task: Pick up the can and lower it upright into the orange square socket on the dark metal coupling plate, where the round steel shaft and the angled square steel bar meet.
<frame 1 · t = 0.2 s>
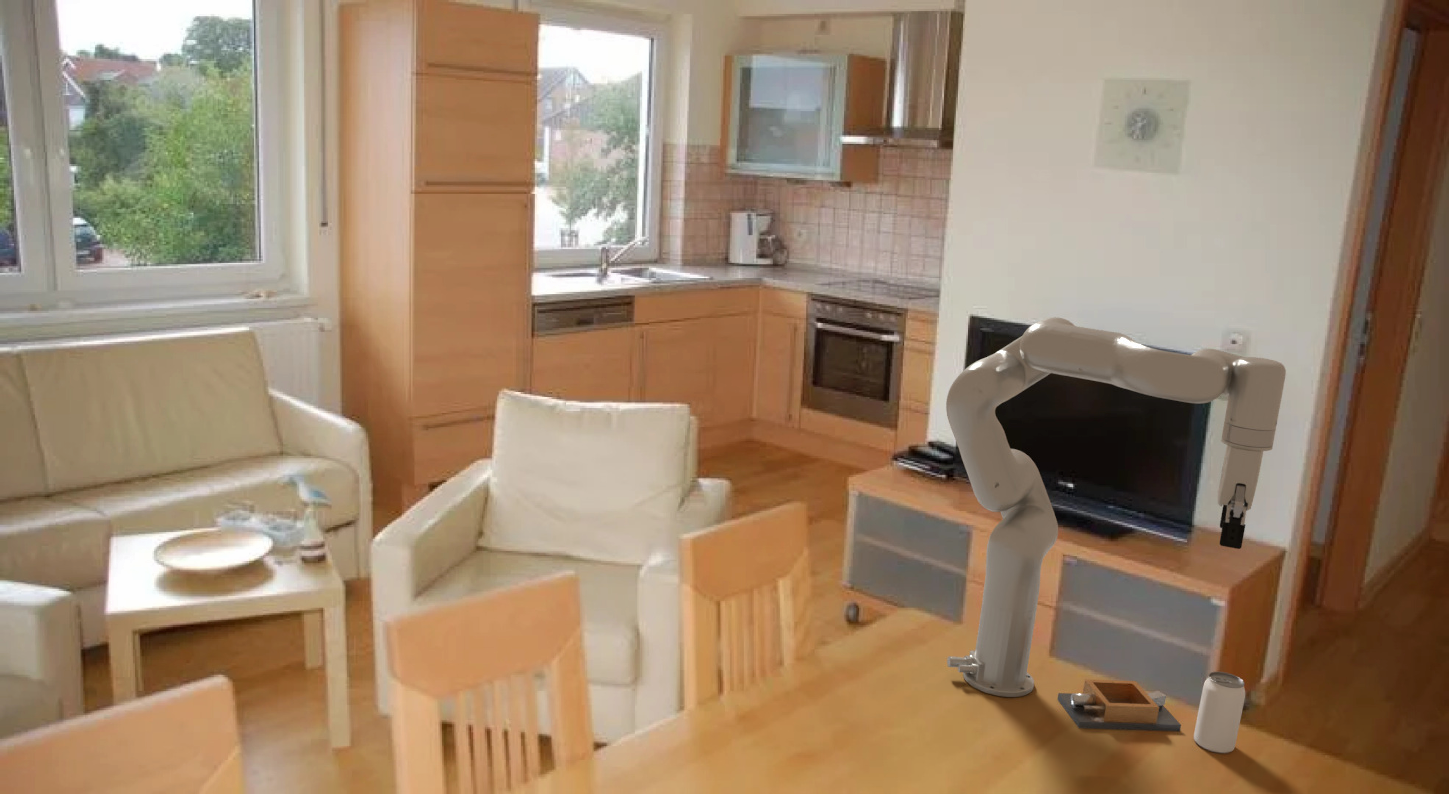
hand: (1229, 537, 189), 36 cm above the table, tool pointing down, fingers open, 9 cm apart
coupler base: (1117, 715, 204), on the table
can: (1213, 745, 197), on the table
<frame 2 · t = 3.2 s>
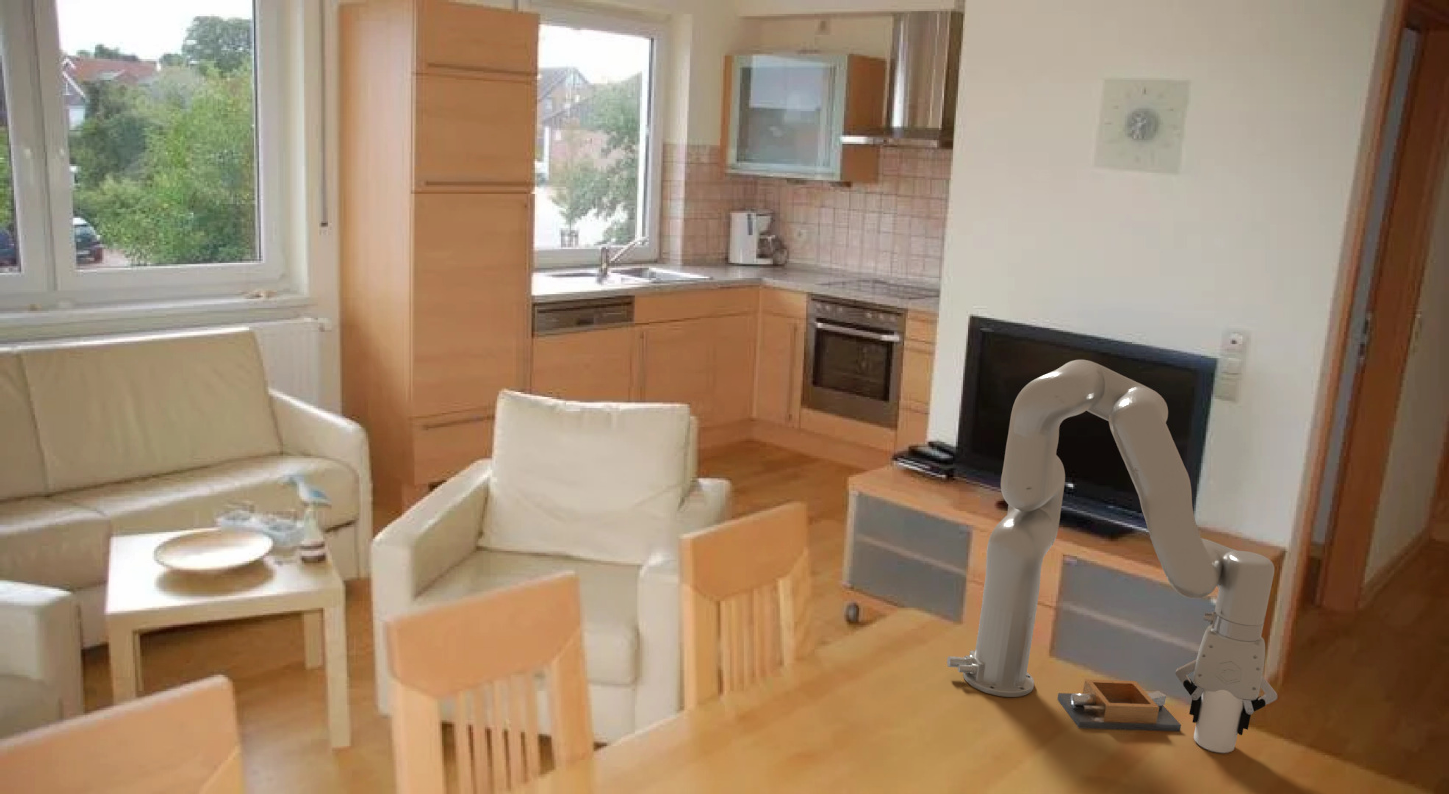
hand: (1217, 724, 196), 4 cm above the table, tool pointing down, fingers closed on can, 6 cm apart
can: (1213, 745, 197), on the table, touching gripper
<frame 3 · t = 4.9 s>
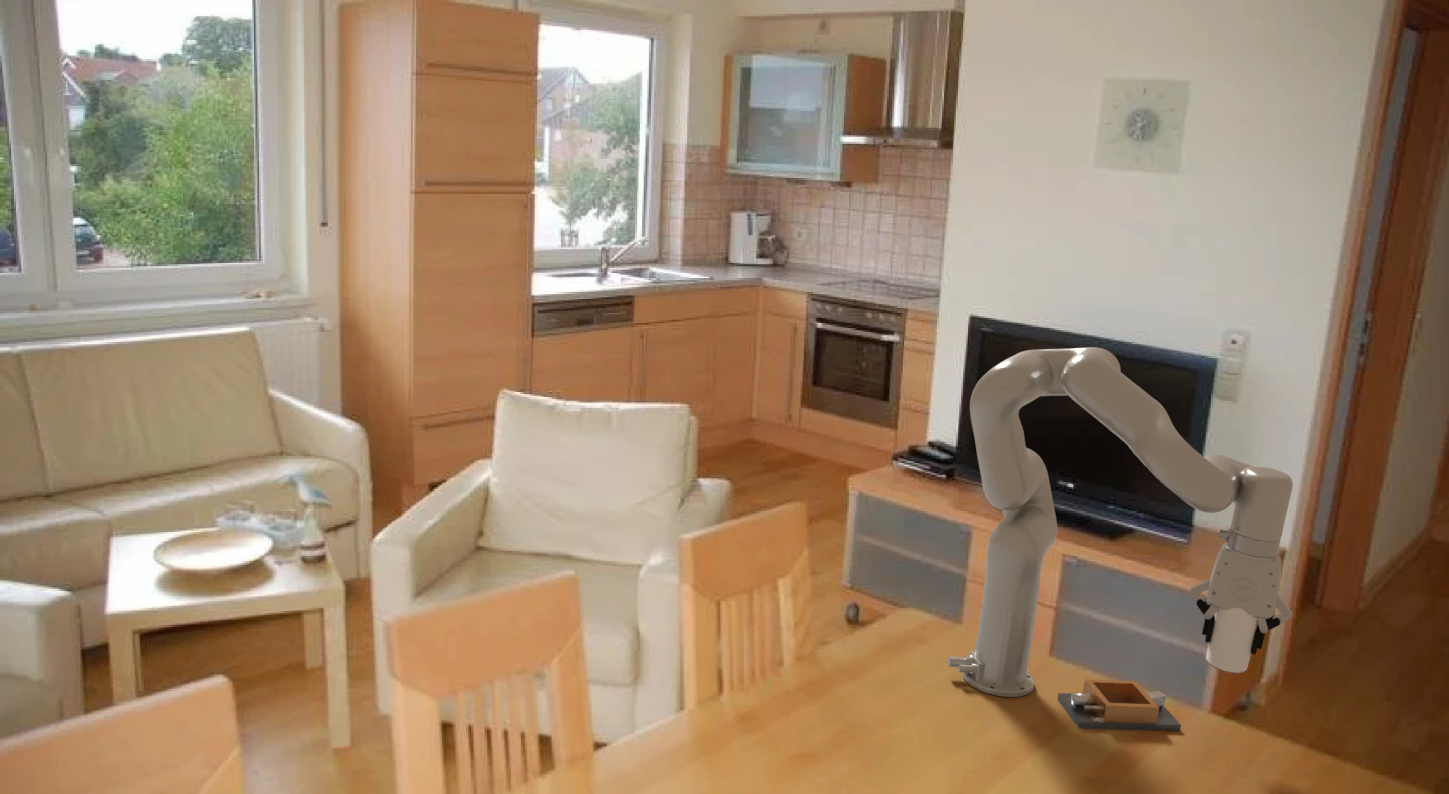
hand: (1230, 644, 192), 18 cm above the table, tool pointing down, fingers closed on can, 6 cm apart
can: (1225, 666, 193), point 14 cm above the table, touching gripper
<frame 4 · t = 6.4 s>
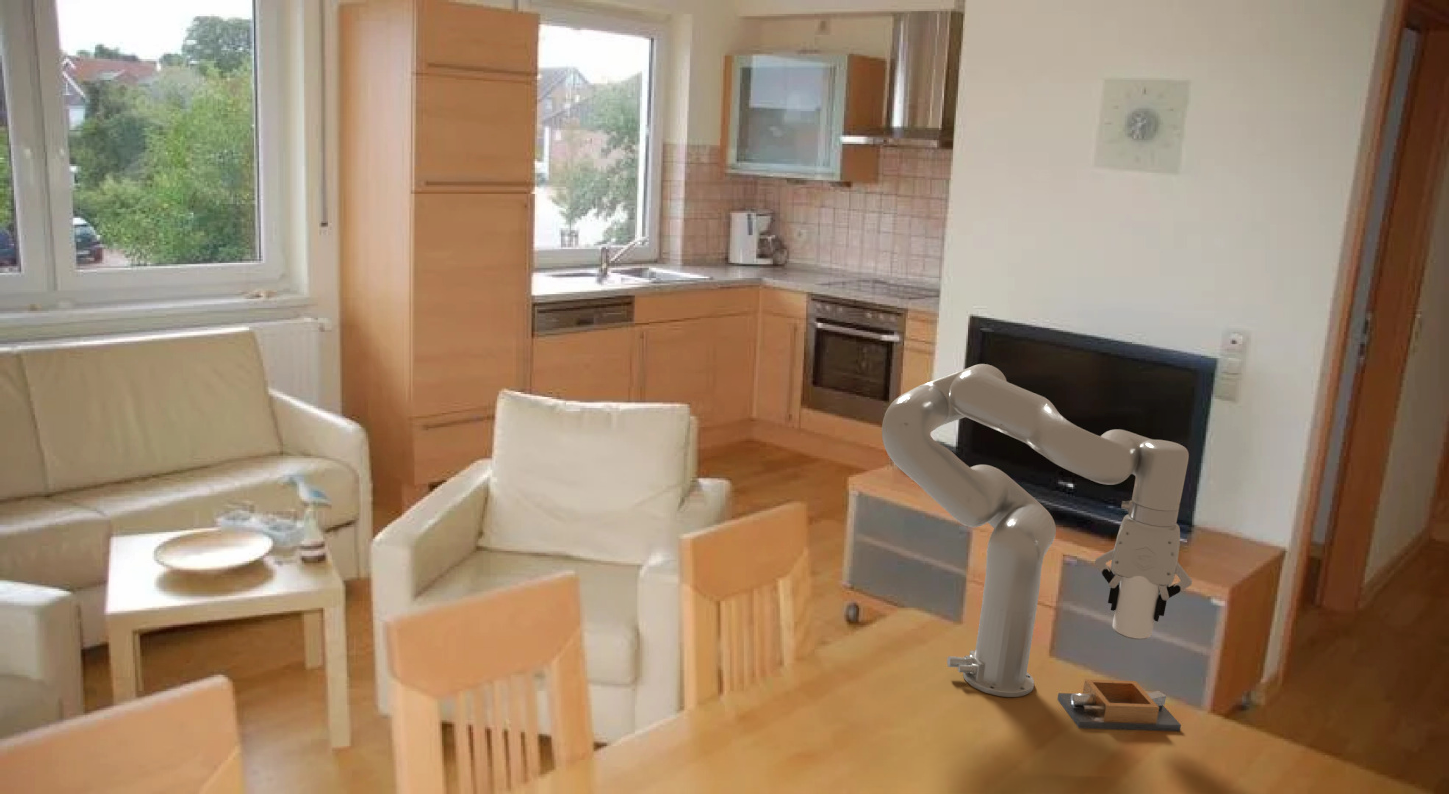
hand: (1135, 612, 199), 19 cm above the table, tool pointing down, fingers closed on can, 6 cm apart
can: (1131, 633, 200), point 15 cm above the table, touching gripper
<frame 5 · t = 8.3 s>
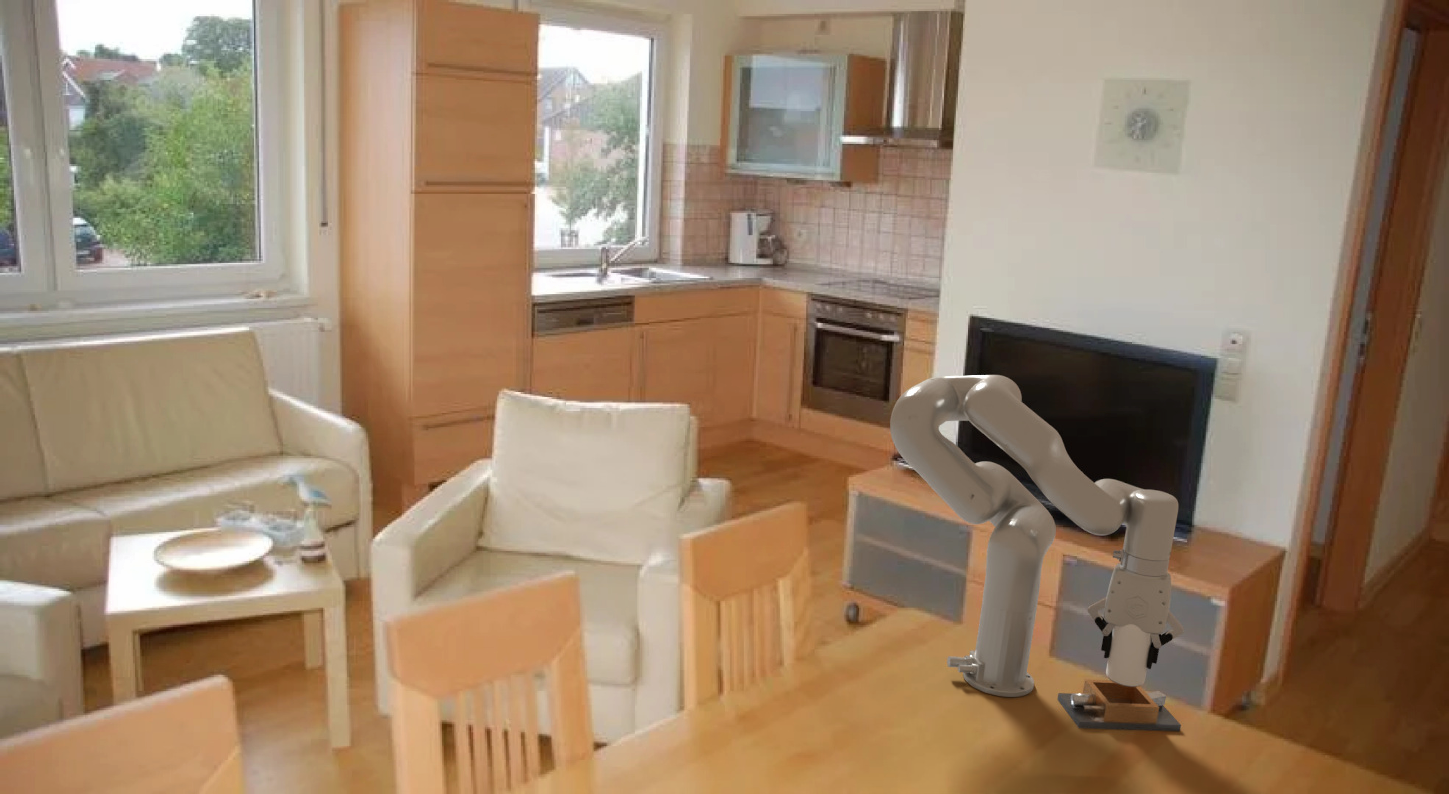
hand: (1128, 659, 201), 11 cm above the table, tool pointing down, fingers closed on can, 6 cm apart
can: (1124, 680, 202), point 7 cm above the table, touching gripper
when the fingers open (6 cm above the table, at t = 10.0 s): can stays where it is, resting on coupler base.
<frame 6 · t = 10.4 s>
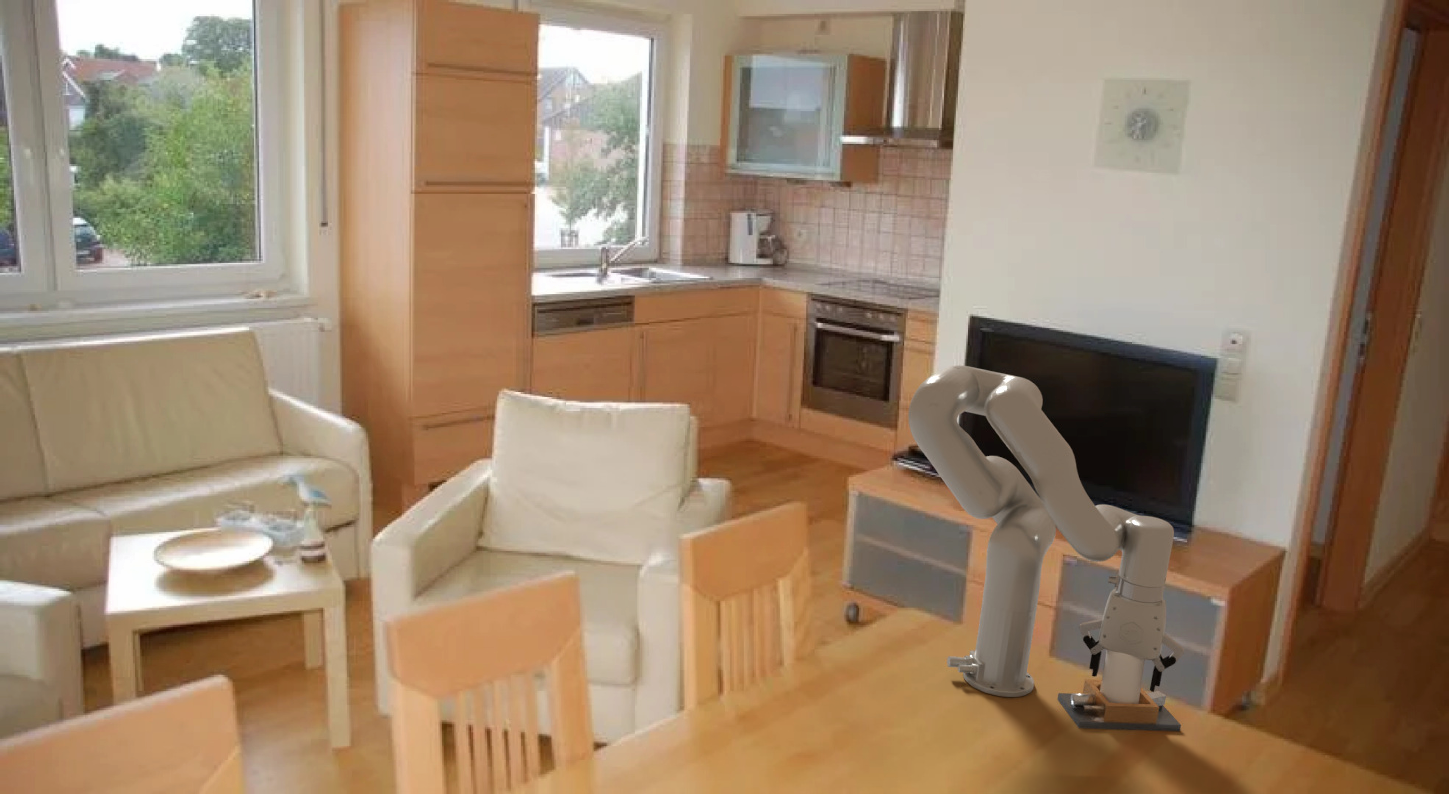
hand: (1123, 681, 202), 6 cm above the table, tool pointing down, fingers open, 9 cm apart
can: (1117, 709, 204), point 1 cm above the table, touching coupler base
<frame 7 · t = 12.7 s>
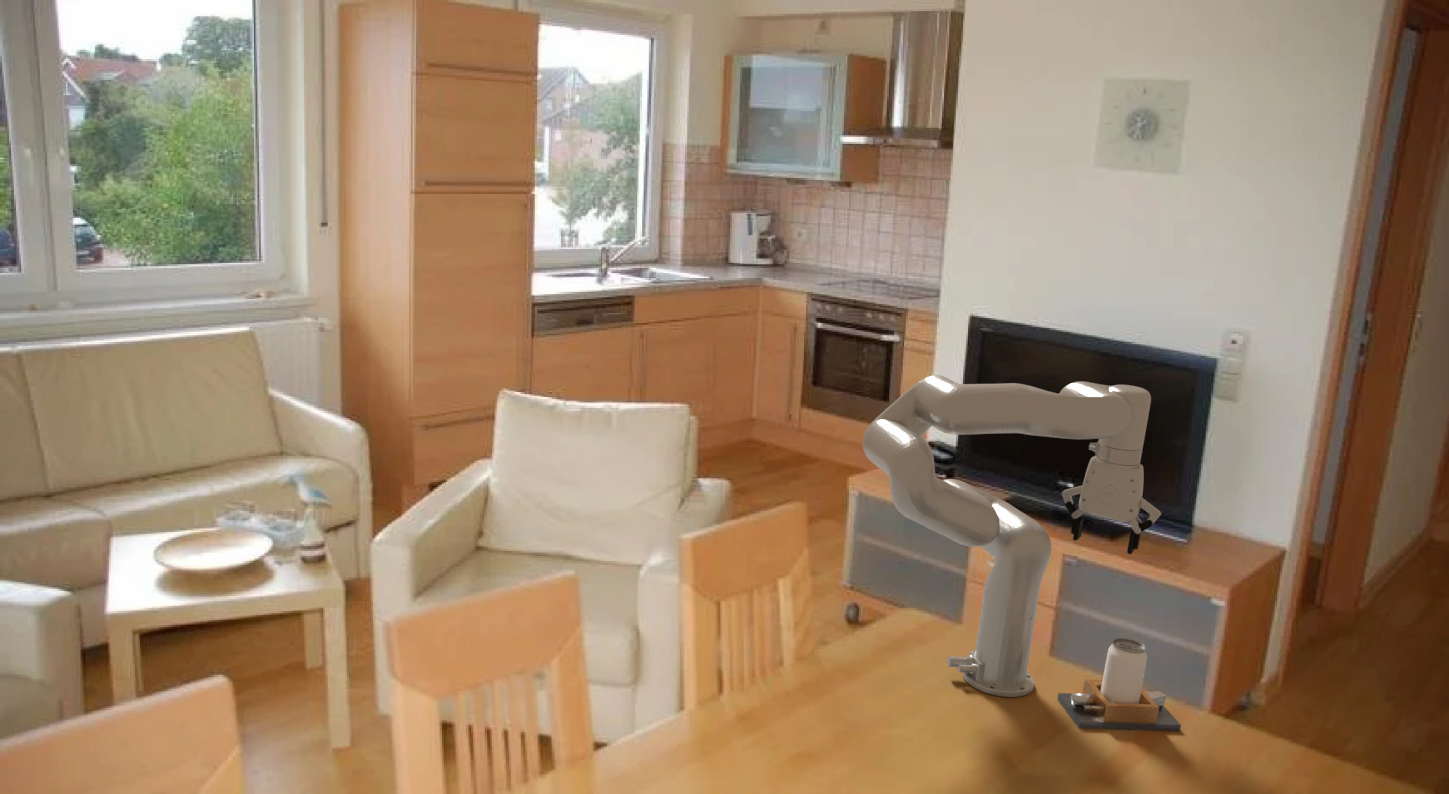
hand: (1103, 545, 211), 26 cm above the table, tool pointing down, fingers open, 9 cm apart
nothing on the table moved.
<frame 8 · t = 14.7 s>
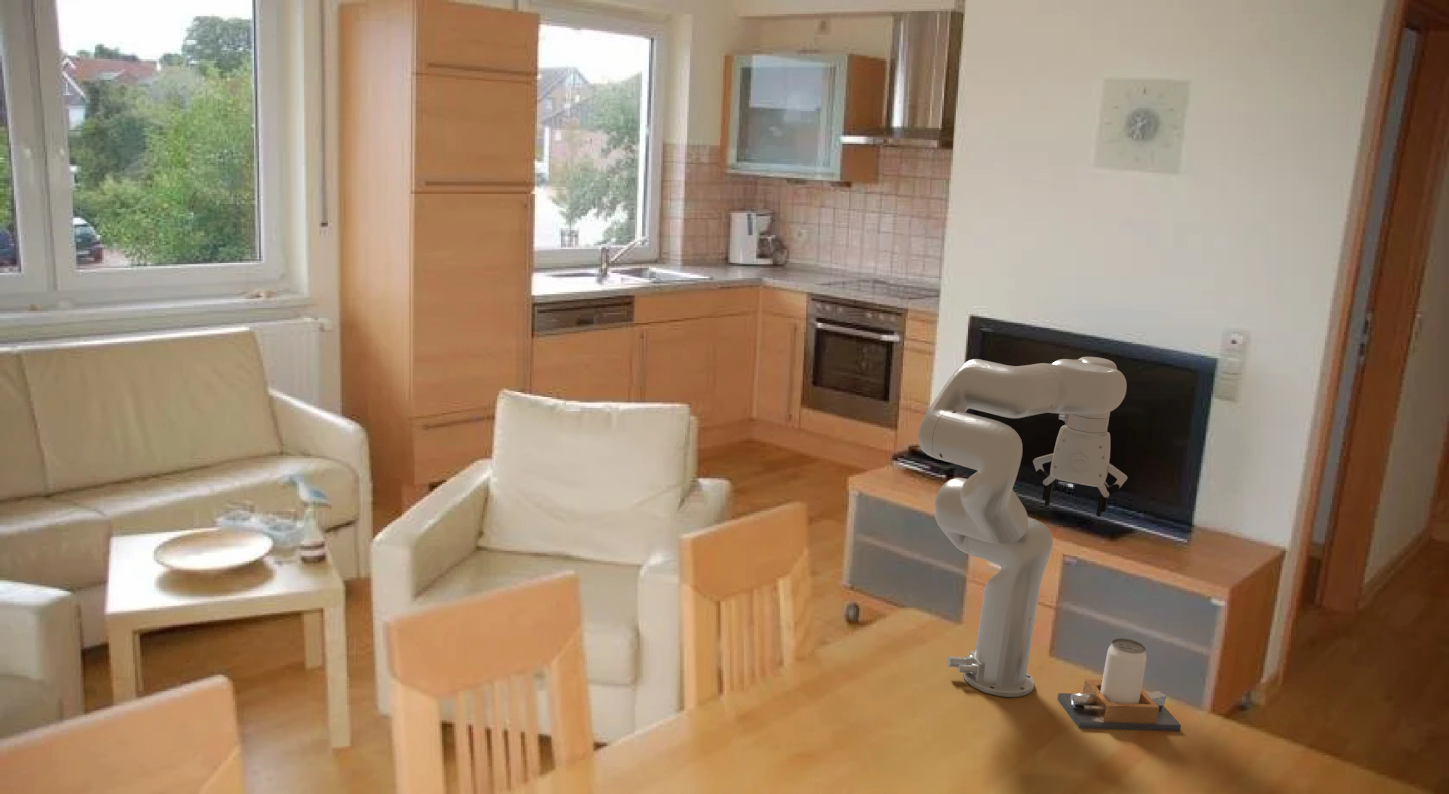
hand: (1073, 509, 223), 28 cm above the table, tool pointing down, fingers open, 9 cm apart
nothing on the table moved.
at the end: can 0.2 cm off-centre on the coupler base, point 1.0 cm above the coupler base's base; can tilted 0°; the gripper is holding nothing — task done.
